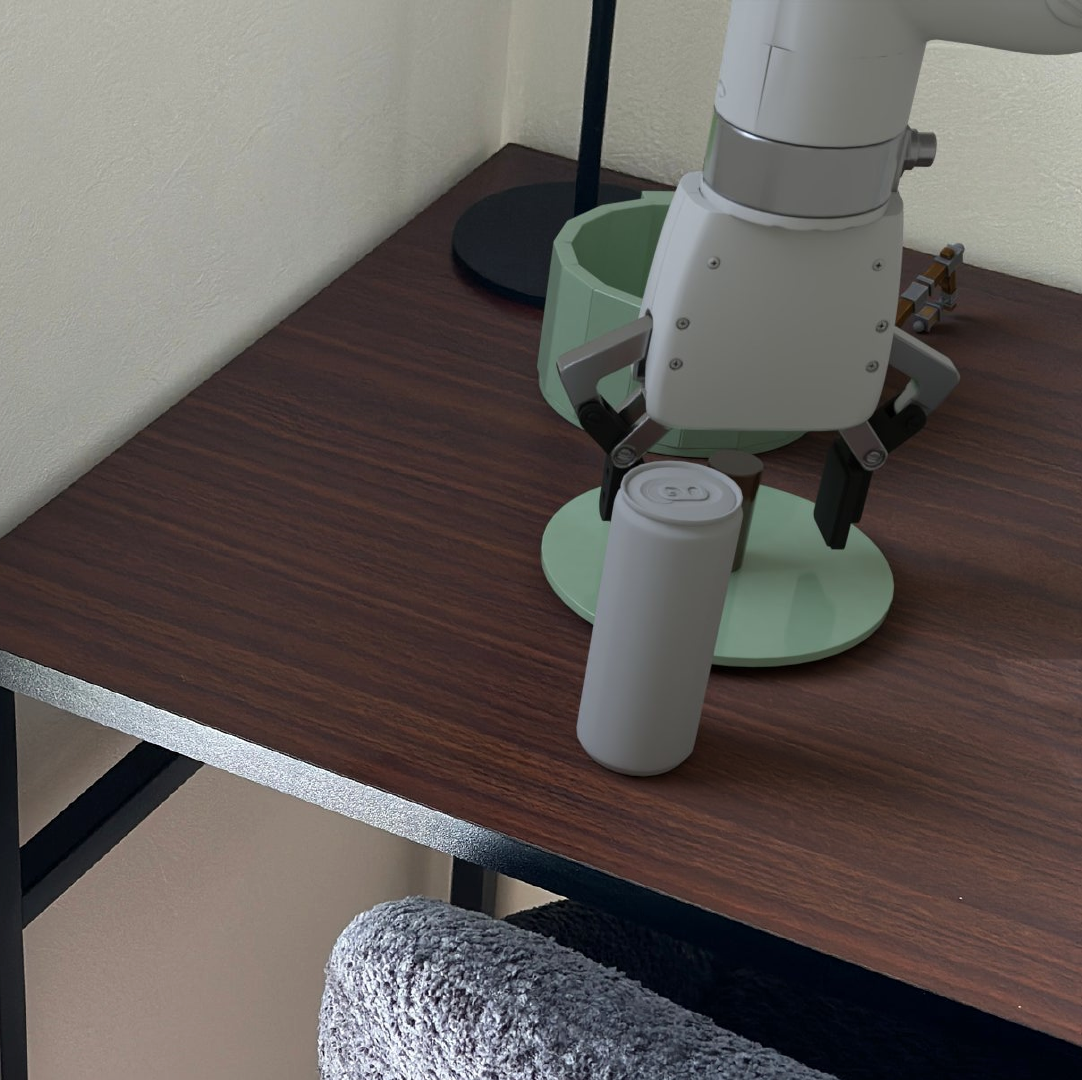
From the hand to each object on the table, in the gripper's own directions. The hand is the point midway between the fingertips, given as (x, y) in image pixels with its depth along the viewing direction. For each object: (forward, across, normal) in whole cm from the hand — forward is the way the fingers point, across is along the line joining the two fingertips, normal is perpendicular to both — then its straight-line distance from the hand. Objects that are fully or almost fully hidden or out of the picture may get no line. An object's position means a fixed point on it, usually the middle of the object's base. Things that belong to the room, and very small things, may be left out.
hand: (724, 533), depth 95 cm
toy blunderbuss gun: (+3, -16, -26) cm, 31 cm away
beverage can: (+3, +6, +13) cm, 15 cm away
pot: (+3, -2, -19) cm, 19 cm away
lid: (+2, 0, 0) cm, 2 cm away
